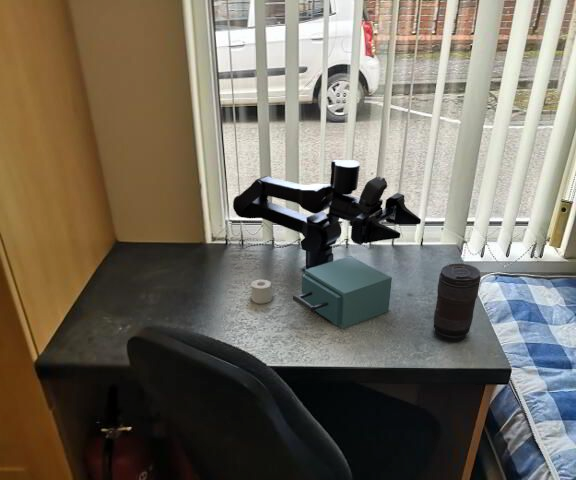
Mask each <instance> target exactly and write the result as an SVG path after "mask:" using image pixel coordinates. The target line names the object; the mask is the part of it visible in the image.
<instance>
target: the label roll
mask: <svg viewBox="0 0 576 480" xmlns="http://www.w3.org/2000/svg"><path fill="white" fill-rule="evenodd" d="M250 287H251V289H250V291H251V300H252V302H253V303H256V304H261V305H262V304H267V303H270V302H272V299H273V295H272V294H273V293H272V292H273V291H272V282H271V281H270V280H268V279H256V280H253V281H252V282H251V283H250Z"/></svg>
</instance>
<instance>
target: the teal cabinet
mask: <svg viewBox="0 0 576 480" xmlns="http://www.w3.org/2000/svg"><path fill="white" fill-rule="evenodd" d="M304 275H308V276H309V277H311V278H314V279H316V280H317V281H319V282H321V283H322V284H324V285H326V286H327V287H329V288H330V289H332V290H334V291H335V292H337V293H339V294H340V295H342V313H341V324H339V325H337V326H338V327H340V328H341V329H345V328H348V327H350V326H353V325H356V324H359V323H360V322H364V321H367V320H369V319H372V318H374V317H377V316H379V315H382V314H385V313H387V312H389V309H390V300H391V292H392V291H391V290H392V280H393V277H392V276H391V275H388V274H386V273H384V272H383V271H381V270H378V269H377V268H375V267H373V266H371V265H369V264H368V263H365V262H364V261H362V260H360V259H357V258H356V257H354V256H352V255H348V256H346V257H343V258H340V259H336V260H335V259H334V260H333V261H332V262H329V263H326V264H322V265H319V266H316V267H313V268H309V269H306V270H304Z"/></svg>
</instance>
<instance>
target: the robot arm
mask: <svg viewBox="0 0 576 480" xmlns="http://www.w3.org/2000/svg"><path fill="white" fill-rule="evenodd" d="M360 167H361V163H360V162H359V161H357V160H354V159H351V160H349V159H346V160H345V159H342V160H339V159H335V160H332V161H331V162H330V180H329V181H330V182H329V183H314V184H300V183H297V182H292V181H287V180H282V179H278V178H273V177H272V176H270V175H265V176H262V177H259V178H257V179H255V180H254V181H253V182H252V184H251V185H250V186H248V188H246V189H245V190H244V191H242V192H241V193H240V194H239V195H237V196H235V197H234V198H233V201H232V208H233V211H234V212H235V215H237V216H238V217H239V218H243V219H263V220H265V221H268V222H270V223H272V224H276V225H278V226H281V227H284V228H286V229H288V230H291V231H294V232H297V233H299V234H301V235H302V236H303V237H304V238H303V239H302V240H300V241H299V243H300V247H301V250H303V251H305V265H304V266H302V268H301V270H302V271H305V270H306V269H309V268H313V267H316V266H319V265H322V264H326V263H329V262H332V261H334V253H333V245H335V244H336V243H337V241H338V239H339V238H340V237H341V235H342V226H341V223H340V219H341V220H344V221H347V222H349V226H350V227H351V229H350V232H351V233H350V239H351V241H352V243H353V244H356V245H359V246H361V245H363V244H370V243H373V242H374V243H375V242H380V241H389V240H395V239H400V238H401V235H402V234H401V233H400V232H399V231H397V230H396V229H394V228H392V227H389V226H387V225H385V224H383V222H386V223H389V224H393V225H394V226H395V225H396V226H397V225H401V226H402V225H404V226H405V225H421V222H422V219H421V218H420V217H418V216H417V215H416V214H415V213H414V212H412V211H411V210H410V209H409V208H408V207H407V206H406V205H405V202H406V200H405V198H406V197H405V194H402V193H400V192H396V193H394V194H392V195H391V196H390V197H388V198H387V199H385V205H384V209H383V207H382V205H383V202H384V200H383V199H381V198H382V196H383V195H384V193H385V190H387V187H388V181H387V180H386V178H385V177H381V176H375V177H373V178H371V179H369V180H368V181H367V182H366V183H365V185H364V187H363V189H362V191H361V194H360V196H359V197H357V196H354V195H352V194H353V192H354V191H356V190H358V184H359V178H360V177H359V176H360ZM269 197H270V198H271V197H272V198H275V199H279V200H283V201H287V202H291V203H295V204H297V205H299V207H301V208H302V209H303V210H305V211H307V212H309V213H311V215H307V214H305V213H302V212H299V211H296V210H293V209H290V208H288V207H285V206H282V205H280V204H278V203H277V204H276V203H274V202H271V201H269V199H268V198H269ZM327 209H328V212H327V213H326V212H324V211H326V210H327Z"/></svg>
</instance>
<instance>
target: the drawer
mask: <svg viewBox="0 0 576 480" xmlns="http://www.w3.org/2000/svg"><path fill="white" fill-rule="evenodd" d="M291 299H292V300H293V302H295V303H297V304H298V305H299V306H301V307H302V308H304V309H305V310H307V311H308V312H310V313H311V314H312V313H314V312H316V313H318V314H319V315H321V316H322V317H324V318H325V319H327V320H328V321H330V322H331V323H332V324H334V325H336V326H338V325H339V324H341V313H342V295H340V294H339V293H337V292H335V291H334V290H332V289H330V288H329V287H327V286H326V285H324V284H322V283H321V282H319V281H317V280H316V279H314V278H311V277H309V276H308V275H305V274H303V275H301V294H300V295H298V294H294V295H293V296H292V298H291Z"/></svg>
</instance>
